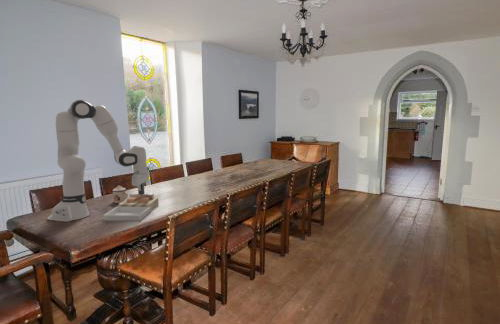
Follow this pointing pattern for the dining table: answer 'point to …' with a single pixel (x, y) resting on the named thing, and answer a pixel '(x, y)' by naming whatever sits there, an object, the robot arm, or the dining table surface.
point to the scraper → (142, 194)
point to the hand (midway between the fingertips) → (141, 189)
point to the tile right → (144, 199)
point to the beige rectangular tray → (141, 203)
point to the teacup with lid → (119, 194)
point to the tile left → (132, 199)
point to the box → (127, 213)
